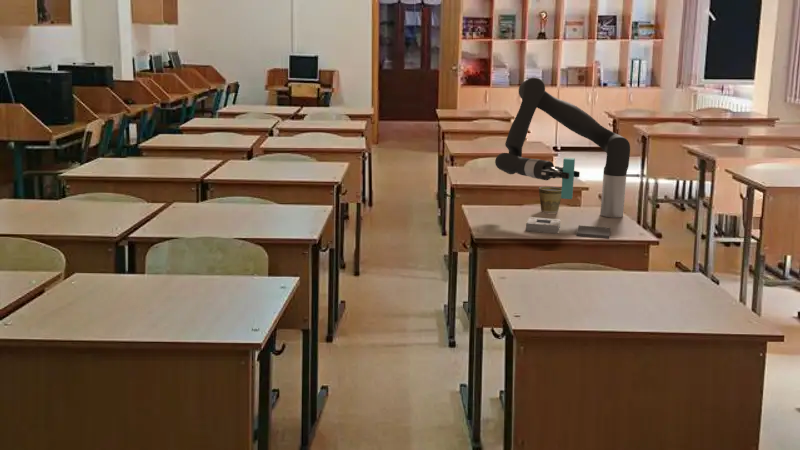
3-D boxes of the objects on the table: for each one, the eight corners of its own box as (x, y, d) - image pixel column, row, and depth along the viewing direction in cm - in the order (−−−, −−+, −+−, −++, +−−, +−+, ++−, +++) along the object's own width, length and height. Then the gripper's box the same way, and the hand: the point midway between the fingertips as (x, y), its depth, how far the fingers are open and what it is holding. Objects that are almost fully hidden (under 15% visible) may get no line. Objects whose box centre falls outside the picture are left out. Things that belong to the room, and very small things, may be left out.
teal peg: (561, 196, 356) (564, 157, 353) (572, 197, 355) (575, 158, 352) (561, 198, 352) (563, 159, 349) (571, 199, 351) (574, 159, 348)
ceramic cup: (557, 215, 383) (559, 191, 381) (534, 212, 388) (535, 189, 385) (566, 210, 395) (568, 186, 393) (543, 207, 399) (545, 184, 397)
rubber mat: (578, 227, 362) (578, 225, 362) (610, 230, 359) (610, 227, 359) (576, 235, 348) (576, 233, 348) (609, 238, 346) (609, 235, 346)
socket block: (529, 224, 365) (529, 216, 364) (560, 226, 362) (560, 219, 362) (525, 230, 354) (526, 223, 353) (557, 233, 351) (558, 225, 350)
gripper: (527, 161, 356) (562, 167, 344) (551, 158, 366) (586, 163, 353) (526, 180, 358) (560, 187, 346) (550, 177, 367) (585, 183, 355)
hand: (573, 175), depth 350 cm, fingers closed on teal peg, 5 cm apart
